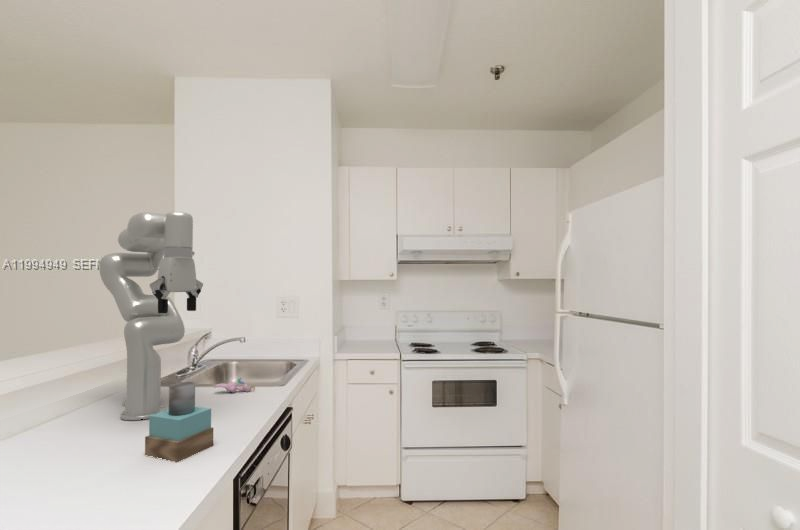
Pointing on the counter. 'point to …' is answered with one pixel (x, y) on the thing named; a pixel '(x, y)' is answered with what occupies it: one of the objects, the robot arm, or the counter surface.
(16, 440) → the counter surface
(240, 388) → the pink patterned figure
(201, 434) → the walnut base block
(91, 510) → the counter surface
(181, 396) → the charcoal cylinder
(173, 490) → the counter surface
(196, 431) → the teal top block
